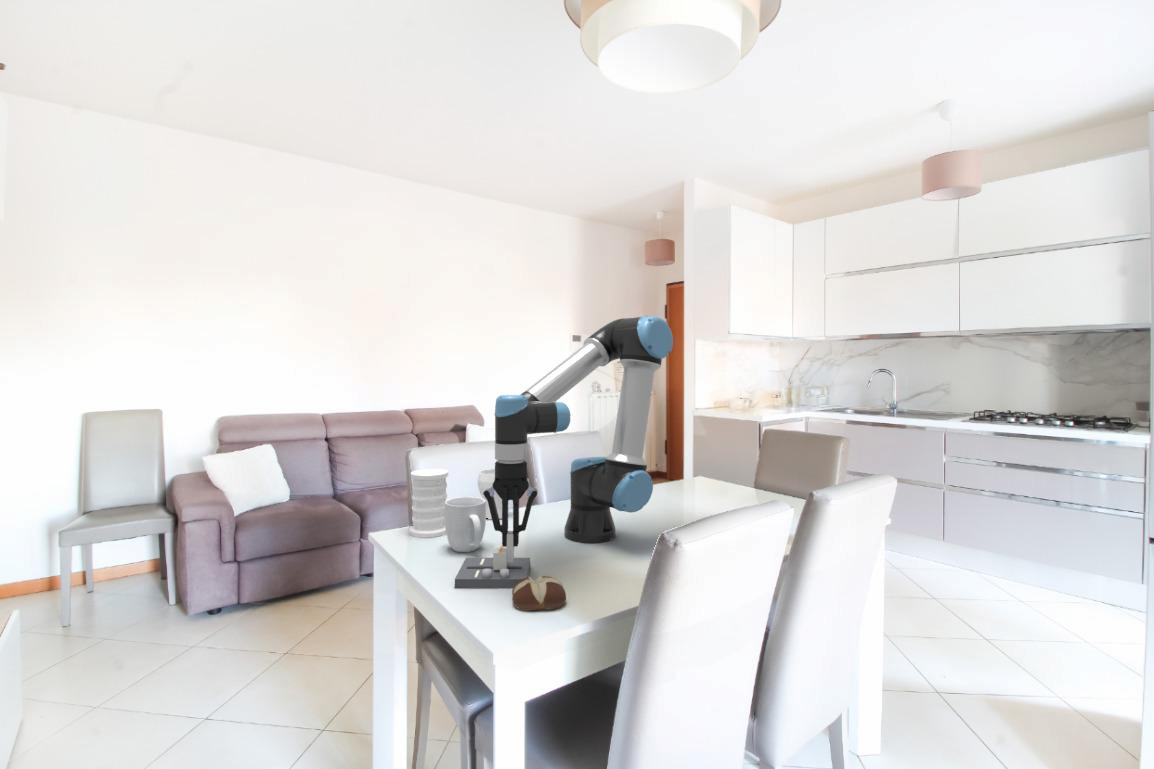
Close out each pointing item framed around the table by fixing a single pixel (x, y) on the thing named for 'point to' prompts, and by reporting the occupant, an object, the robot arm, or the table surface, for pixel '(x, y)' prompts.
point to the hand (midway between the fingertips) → (510, 559)
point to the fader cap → (500, 558)
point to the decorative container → (428, 502)
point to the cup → (484, 483)
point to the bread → (538, 594)
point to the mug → (465, 522)
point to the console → (491, 573)
